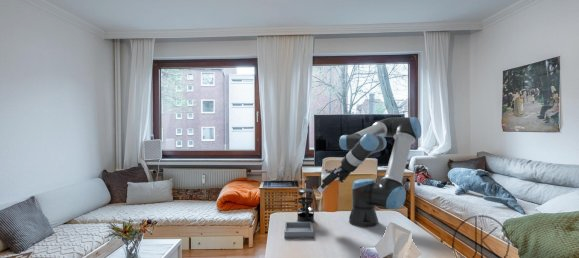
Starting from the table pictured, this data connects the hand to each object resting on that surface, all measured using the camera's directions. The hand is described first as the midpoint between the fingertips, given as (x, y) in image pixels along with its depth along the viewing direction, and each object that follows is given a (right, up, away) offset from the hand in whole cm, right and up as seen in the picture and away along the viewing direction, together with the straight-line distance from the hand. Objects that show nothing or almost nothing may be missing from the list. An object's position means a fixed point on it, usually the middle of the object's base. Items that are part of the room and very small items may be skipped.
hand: (325, 189), depth 149 cm
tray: (-14, -21, -3) cm, 25 cm away
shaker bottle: (+2, -10, -2) cm, 11 cm away
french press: (-9, -20, +14) cm, 26 cm away
